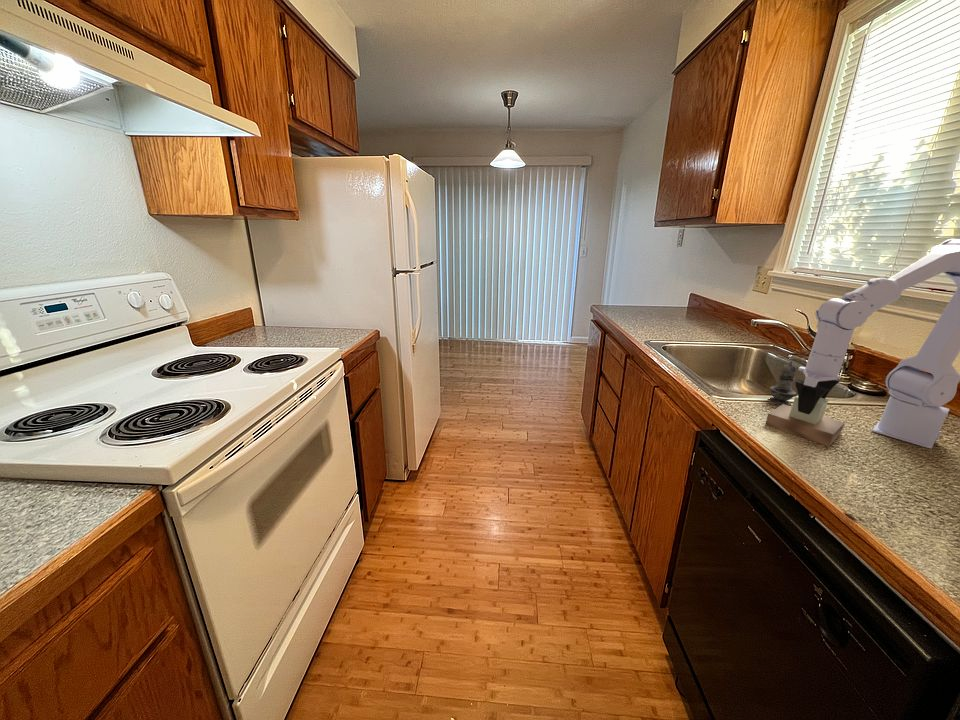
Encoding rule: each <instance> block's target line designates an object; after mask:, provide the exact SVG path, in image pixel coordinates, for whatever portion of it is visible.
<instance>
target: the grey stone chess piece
mask: <svg viewBox="0 0 960 720" xmlns="http://www.w3.org/2000/svg"><path fill="white" fill-rule="evenodd" d="M796 371H797V366H795V365H794V362H793V361H790V362H789V363H787V364H784V365H783V367H782V370H781V373H780V374H779V375H778V377H779V379H778V381H777V383H776V385H772V386H769V389H770V391H769V392H770V395H771V396H772V397H769V398H770V399H768V398H767V401H768V402H769V403H772V404H775V405H778V406H781V405H782V404H784V405H788V406H791V407H792V403H791V402H790V400H792V399H793V398H795V395H796V394H797V392H796V391H795V390H794V389H793V388H792V387H793V386H792V385H793V382H794V381H796V378H795V374H796Z"/></svg>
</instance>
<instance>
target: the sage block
mask: <svg viewBox="0 0 960 720" xmlns="http://www.w3.org/2000/svg"><path fill="white" fill-rule="evenodd" d="M828 403H829V399H827V398H825V399H824V398H820V399H819V400H818V402H817V404H816V405H815V407H814V409H813V411H812V412H811V413H810V414H805V413H802V412H799V411H798V394H797V395H796V396H794V399H793V403H792V404H791V407H792V408H791V412H790V415H789V416H790V417H793V418H796V419H799V420H803V421H806V422H809V423H812V424H815V425H816V424H817V423H818V422H819V421H820V420H822V417H823V416H825V415H824V414H825V411H826V408H827V405H828Z"/></svg>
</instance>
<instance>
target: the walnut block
mask: <svg viewBox="0 0 960 720" xmlns="http://www.w3.org/2000/svg"><path fill="white" fill-rule="evenodd" d="M791 408H792V405H791V406H788V405H784V404H782V405H778V407H776V408H775V409H773V410H772V411H770V412H769V413H768V414H767V417H766V421H765V424H764V425H766V426H768V427H771V428H774V429H777V430H780V431H783V432H786V433H788V434H791V435H794V436H797V437H800V438H803V439H805V440H809V441H812V442H815V443H818V444H821V445H824V446H827V447H830V446H831V445H832V444H833V443H834V442H835V441H836V439H838V438H839V436H840V435H841V434H842V432H843V429H844V426H845V422H844V421H840V420H838V419H834V418H830V417H827V416H825V415H823V417H822V420H820V421H819V422H818V423H817V424H816V425H815V424H812V423H809V422H806V421H803V420H799V419H796V418H793V417H790V416H789V415H790V412H791Z"/></svg>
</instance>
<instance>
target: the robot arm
mask: <svg viewBox="0 0 960 720" xmlns="http://www.w3.org/2000/svg"><path fill="white" fill-rule="evenodd" d="M940 274H944V275H945V276H947V277H948V278H949V279H950V280H952V281H953V283H954V284H955V285H956V287H957V288H956V290H955V292H954V293H953V295H952V296H951V298H950V300H949V301H948V303H947V304H946V307H945V308H944V310H943V311H942V313H941V314H940V316H939V317H938V319H937V321H936V323H935V324H934V326H933V328H932V329H931V331H930V332H929V334H928V335H927V337H926V338H925V341H924V342H923V344H922V346H921V347H920V349H919V350H918V352H917V353H916V355H914V356H910V357H907V358H904V359H901V360H900V361H899V363H898V364H897V365H896V367H894V368H893V369H892V370H891V371H890V372H889V373H888V374H887V376H886V377H885V380H884V381H885V386H886V388H887V389H888V392H887V393H888V394H890V396H889V398H888V401H887V403H886V405H885V408H884V410H883V413H882V414H881V417H880V421H878V422H877V423H876V425H875V426H874V427H873V428H872V430H871V431H872V432H873V433H877V434H880V435H882V436H887V437H889V438H893V439H897V440H899V441H900V440H901V441H903V442H907V443H910V444H913V445H916V446H919V447H923V448H927V449H933V447H934V444H935V442H936V440H937V441H938V440H939V438H940V437H941V435H942V432H940V431H941V428H942V427H943V424H944V423H945V420H946V418H947V416H948V413H949V411H950V408H949V407H944V406H943V405H946V404H947V403H949V402H951V401H952V400H953V399H954V397H955V395H956V393H957V390H958V385H959V383H960V373H959V372H958V371H957V369H956V368H955V367H954V366H953V363H954V362H955V360H956V359H957V357H958V356H959V354H960V238H949V239H946V240H944V241H943V242H941V243H940V244H937V245H935V246H933V247H931V248H930V250H929V253H928V254H927V255H925V256H923V257H922V258H920V259H918V260H917V261H915V262H913V263H912V264H910V265H909V266H907V267H905V268H904V269H902V270H901V271H899V272H897V273H896V274H894V275H892V276H890V277H889V278H886V277H877V278H871V279H869V280H867V281H866V283H865V284H864V285H862V286H860V287H858V288H856V289H854V290H853V291H850V292H849V291H848V292H847V293H845V294H844V295H843V296H841V297H840V298H838V297H836V298H830V299H827V300H826V301H825V302H823V303H821V305H820V306H819V308H818V309H816V310H815V312H814V313H815V318H816V320H817V325H816V328H817V331H816V335H815V338H814V341H813V344H812V346H811V350H810V353H809V355H808V359H807V362H806V366H801V365H800V366H799V367H798V369H797V371H799V372H802V373H803V375H804V376H805V379H804V380H800V379H797V380H795V382H794V384H795V388H796V391H797V392H796V393H797V395H798V411H799V412H802V413H805V414H810V413H811V412H812V411H813V409H814V407H815V405H816V404H817V402H818V400H819V399H820V398H824V399H827V397H828V395H829V393H830V392H831V391H832V389H833V388H835V386H836V385H837V384H839V383H840V382H841V379H840V378H839V377H840V371H841V369H842V366H843V363H844V360H845V356H846V354H847V350H848V348H849V346H850V342H851V340H852V337H853V334H854V332H855V329H856V328H859V327H861V326H862V325H864V324H865V322H867V319H868V318H869V317H871V316H872V315H873V313H875V312H877V311H878V310H881V309H882V308H885V307H886V306H888V305H890V304H892V303H894V302H896V301H898V300H899V299H900V298H901V296H902V293H903V291H905V290H907V289H909V288H912V287H914V286H916V285H919V284H921V283H922V282H925V281H927V280H930V279H932V278H934V277H936V276H939V275H940ZM926 372H927V373H926Z"/></svg>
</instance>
